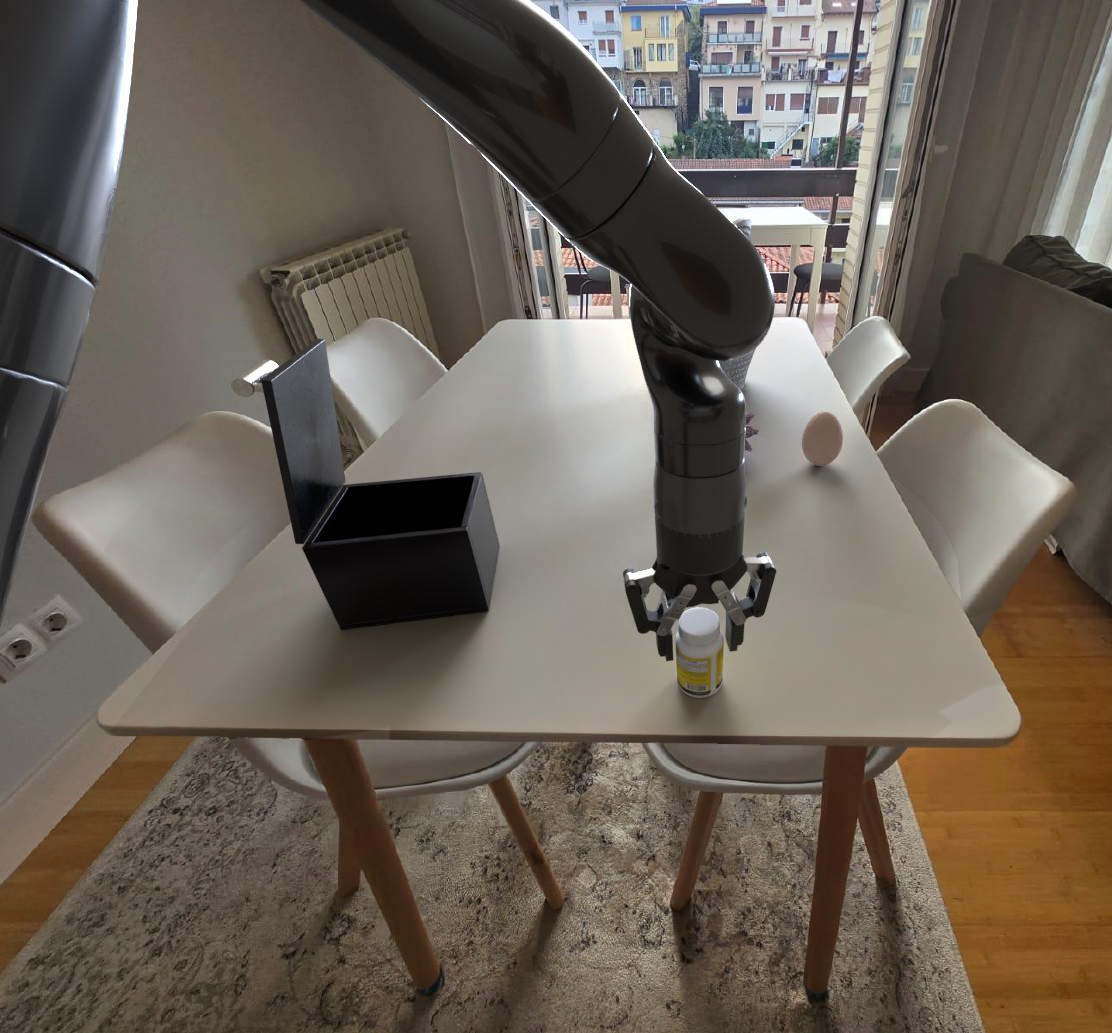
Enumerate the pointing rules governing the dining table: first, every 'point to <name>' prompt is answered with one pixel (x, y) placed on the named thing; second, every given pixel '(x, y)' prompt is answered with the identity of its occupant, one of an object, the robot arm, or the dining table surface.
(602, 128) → the robot arm
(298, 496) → the box lid
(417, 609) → the black box
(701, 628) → the supplement bottle
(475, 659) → the dining table surface
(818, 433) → the egg
